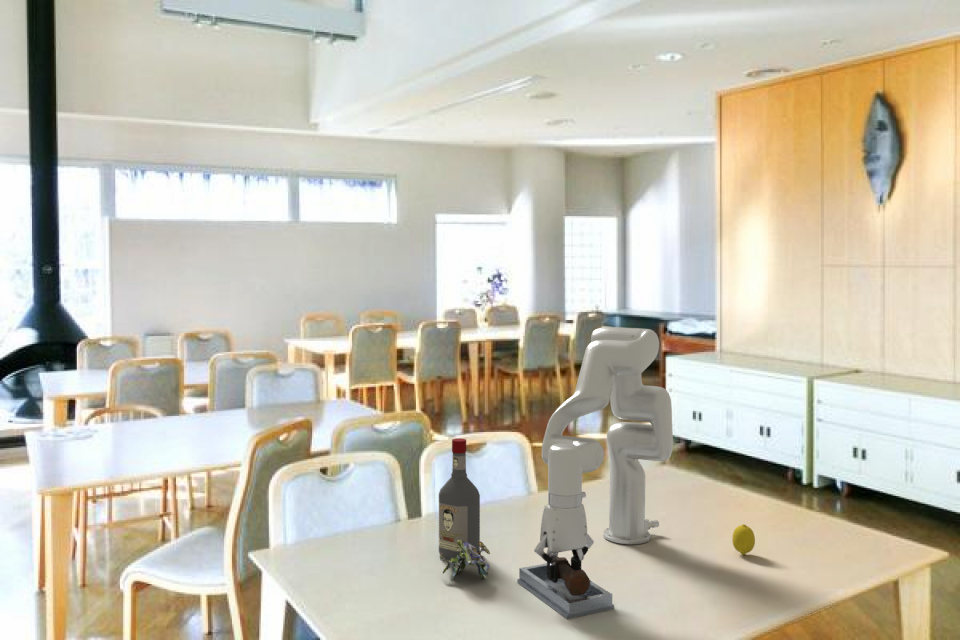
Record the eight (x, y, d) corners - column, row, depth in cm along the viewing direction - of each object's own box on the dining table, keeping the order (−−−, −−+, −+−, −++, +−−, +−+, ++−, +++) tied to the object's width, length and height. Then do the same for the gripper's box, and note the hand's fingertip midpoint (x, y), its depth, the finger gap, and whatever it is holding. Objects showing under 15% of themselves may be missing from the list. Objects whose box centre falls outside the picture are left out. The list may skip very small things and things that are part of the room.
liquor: (455, 547, 217) (455, 434, 215) (484, 554, 212) (484, 438, 210) (434, 557, 210) (433, 440, 208) (462, 564, 204) (462, 445, 202)
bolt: (556, 577, 193) (582, 600, 178) (538, 568, 191) (563, 591, 177) (567, 554, 193) (594, 576, 179) (550, 546, 192) (575, 567, 178)
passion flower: (482, 600, 196) (500, 570, 190) (439, 599, 192) (457, 567, 186) (473, 561, 205) (490, 530, 198) (432, 558, 201) (448, 527, 194)
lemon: (755, 553, 213) (756, 522, 212) (753, 560, 208) (753, 529, 207) (733, 549, 215) (734, 519, 215) (730, 556, 210) (731, 526, 210)
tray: (561, 574, 198) (561, 560, 198) (614, 608, 179) (614, 593, 178) (517, 582, 193) (517, 568, 193) (567, 619, 173) (567, 603, 173)
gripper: (587, 490, 192) (587, 566, 193) (523, 500, 184) (522, 579, 185) (606, 499, 185) (605, 577, 186) (540, 509, 177) (539, 591, 179)
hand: (564, 577), depth 186 cm, fingers closed on bolt, 5 cm apart
